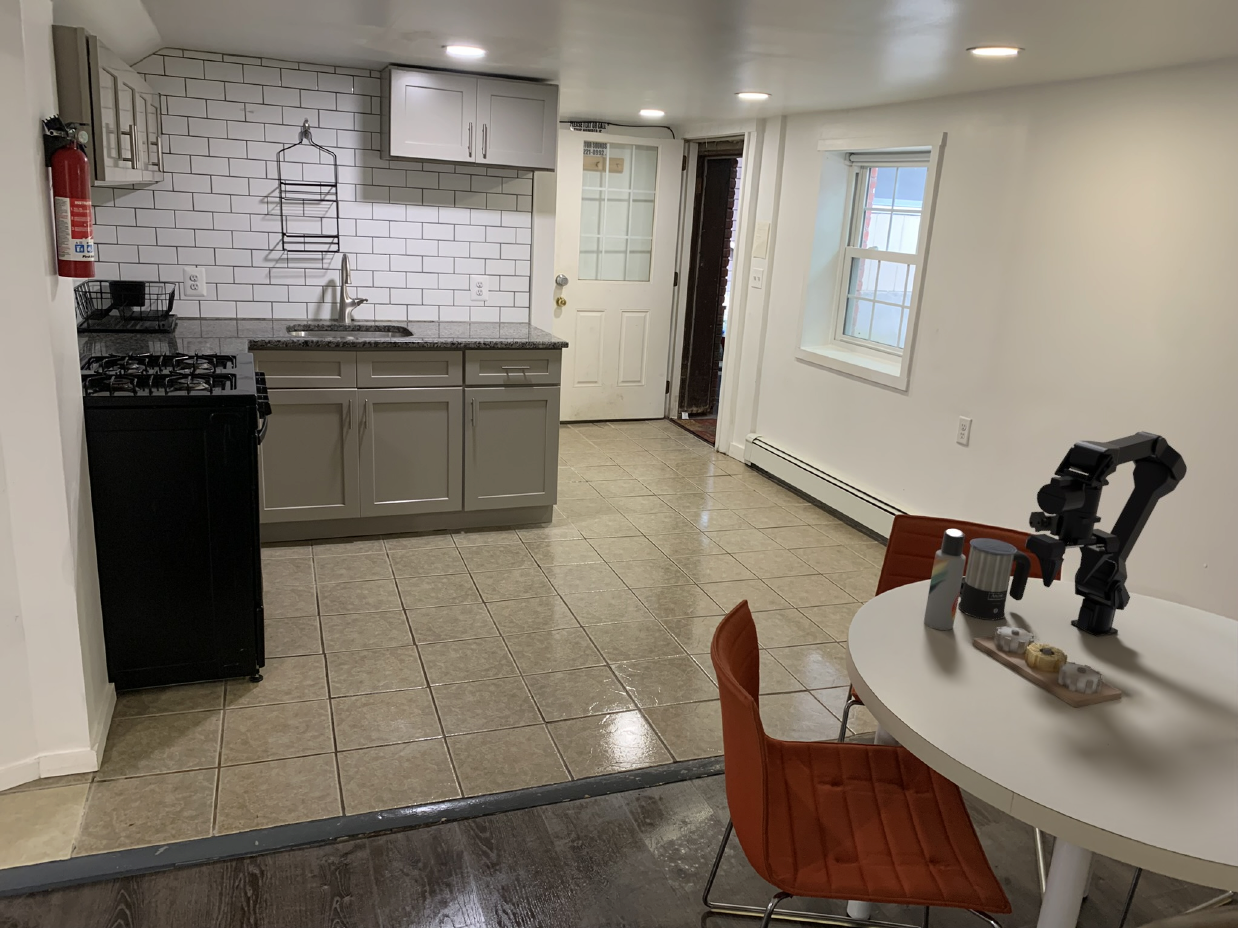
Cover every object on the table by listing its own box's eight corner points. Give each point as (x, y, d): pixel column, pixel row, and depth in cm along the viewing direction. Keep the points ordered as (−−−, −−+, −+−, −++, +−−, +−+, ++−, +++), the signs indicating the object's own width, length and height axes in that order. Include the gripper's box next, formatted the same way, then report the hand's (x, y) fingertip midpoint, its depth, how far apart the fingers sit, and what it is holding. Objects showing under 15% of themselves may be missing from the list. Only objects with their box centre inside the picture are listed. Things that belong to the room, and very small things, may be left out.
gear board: (972, 644, 178) (976, 624, 177) (1015, 637, 182) (1019, 618, 181) (1074, 707, 157) (1080, 685, 156) (1120, 698, 161) (1125, 676, 160)
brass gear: (1043, 653, 174) (1045, 641, 173) (1072, 670, 168) (1075, 657, 167) (1016, 657, 171) (1018, 645, 170) (1045, 675, 165) (1048, 662, 164)
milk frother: (984, 623, 188) (998, 556, 184) (923, 594, 200) (935, 530, 196) (1028, 612, 195) (1042, 547, 191) (966, 584, 208) (978, 522, 204)
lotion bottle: (954, 622, 187) (971, 530, 182) (951, 633, 182) (969, 538, 177) (925, 615, 189) (941, 524, 184) (921, 626, 184) (938, 532, 179)
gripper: (1081, 492, 185) (1065, 564, 190) (1011, 497, 178) (996, 572, 182) (1129, 510, 176) (1111, 586, 180) (1057, 516, 168) (1040, 595, 172)
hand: (1063, 584), depth 179 cm, fingers open, 9 cm apart
